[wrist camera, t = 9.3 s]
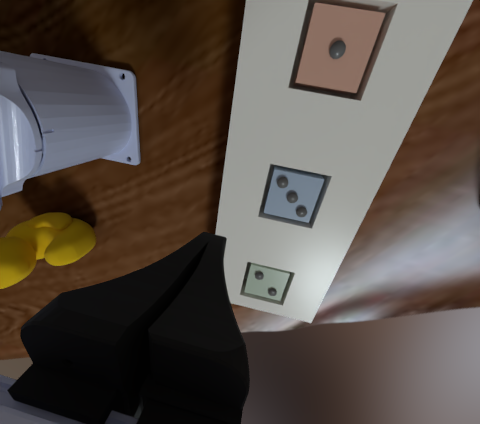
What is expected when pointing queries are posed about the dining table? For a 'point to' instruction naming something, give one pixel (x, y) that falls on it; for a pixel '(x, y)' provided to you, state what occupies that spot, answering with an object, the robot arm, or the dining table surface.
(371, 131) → the button panel
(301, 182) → the button three
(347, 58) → the button one
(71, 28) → the dining table surface
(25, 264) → the duckling
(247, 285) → the button two
